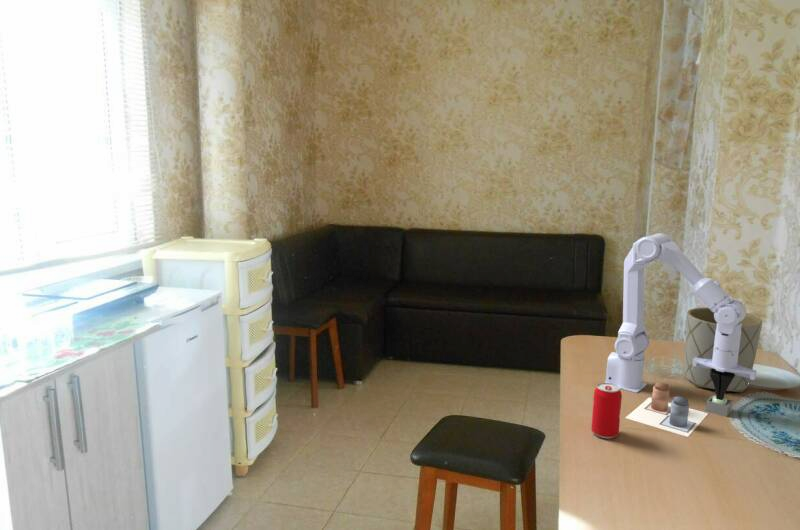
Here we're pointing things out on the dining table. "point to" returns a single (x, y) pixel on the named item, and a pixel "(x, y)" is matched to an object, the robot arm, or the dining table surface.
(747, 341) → the planter
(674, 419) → the blue gray jar
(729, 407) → the button housing
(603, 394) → the beverage can
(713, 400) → the button
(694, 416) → the picture sheet
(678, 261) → the robot arm
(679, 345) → the dining table surface
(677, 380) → the dining table surface
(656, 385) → the brown jar
